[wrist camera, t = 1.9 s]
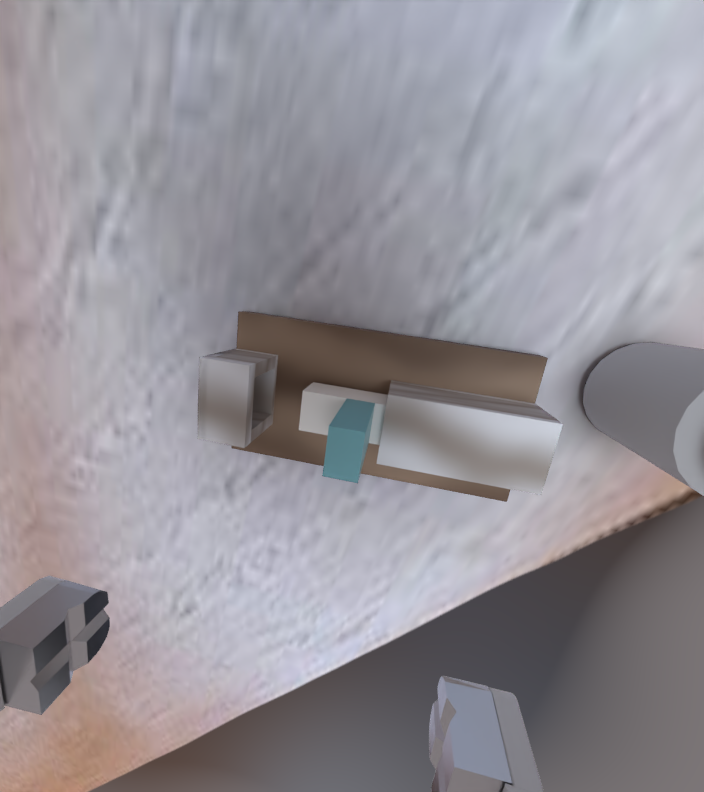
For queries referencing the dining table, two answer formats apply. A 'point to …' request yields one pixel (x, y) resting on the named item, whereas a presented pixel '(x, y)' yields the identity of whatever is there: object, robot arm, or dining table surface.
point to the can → (653, 406)
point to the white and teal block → (343, 425)
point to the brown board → (405, 410)
